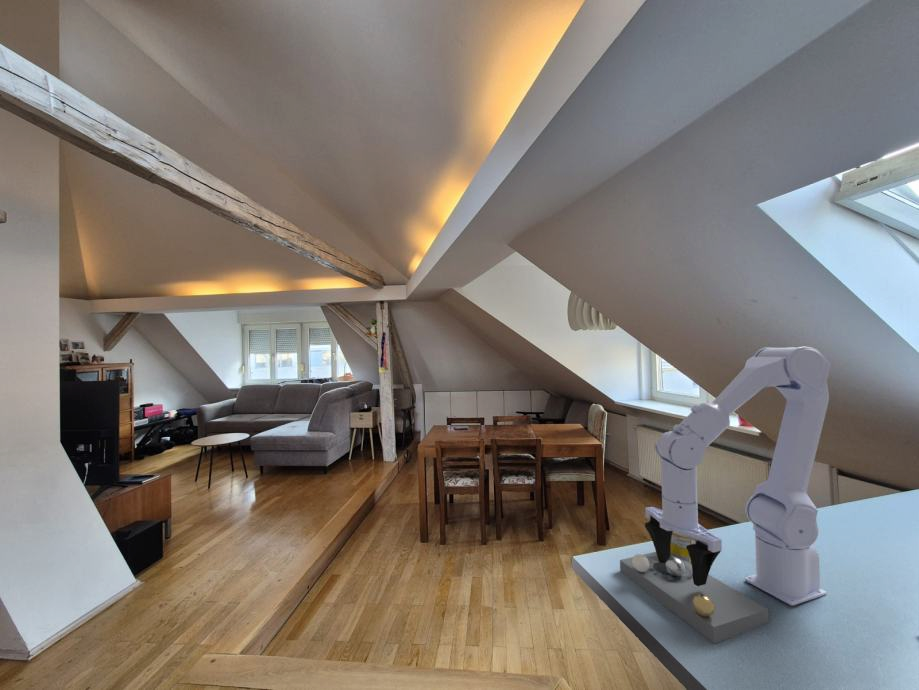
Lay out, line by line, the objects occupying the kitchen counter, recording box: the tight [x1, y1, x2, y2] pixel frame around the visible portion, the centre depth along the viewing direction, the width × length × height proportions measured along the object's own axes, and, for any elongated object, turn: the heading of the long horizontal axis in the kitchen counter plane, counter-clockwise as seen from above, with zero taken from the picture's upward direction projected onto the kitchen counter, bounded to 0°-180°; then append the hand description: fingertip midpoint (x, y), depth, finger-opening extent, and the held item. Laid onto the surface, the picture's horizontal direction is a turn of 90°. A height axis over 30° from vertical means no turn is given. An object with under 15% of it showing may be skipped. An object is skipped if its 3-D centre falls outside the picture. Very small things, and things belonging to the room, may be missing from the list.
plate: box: [619, 551, 770, 644], centre depth 69 cm, size 12×20×2 cm, turn 19°
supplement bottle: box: [671, 531, 696, 564], centre depth 80 cm, size 5×5×10 cm
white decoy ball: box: [632, 553, 650, 572], centre depth 73 cm, size 3×3×3 cm
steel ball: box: [665, 557, 685, 576], centre depth 72 cm, size 3×3×3 cm
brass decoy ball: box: [692, 594, 715, 617], centre depth 61 cm, size 3×3×3 cm
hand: (681, 572), depth 70 cm, fingers open, 7 cm apart
